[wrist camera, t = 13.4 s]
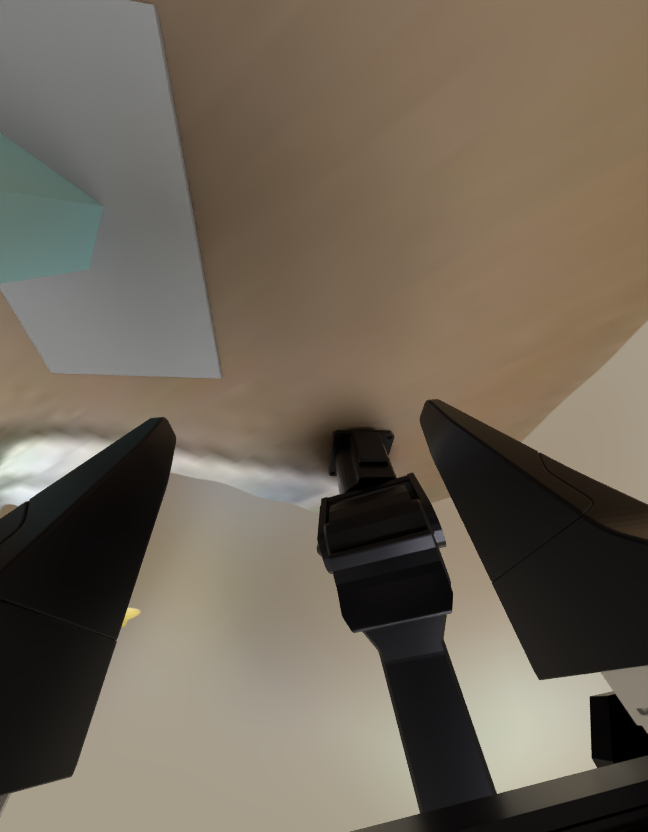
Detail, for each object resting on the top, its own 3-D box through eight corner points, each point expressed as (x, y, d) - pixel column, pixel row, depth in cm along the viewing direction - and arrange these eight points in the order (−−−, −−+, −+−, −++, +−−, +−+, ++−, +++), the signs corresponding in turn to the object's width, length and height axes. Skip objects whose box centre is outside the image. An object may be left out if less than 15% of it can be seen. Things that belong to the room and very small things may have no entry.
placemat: (222, 376, 22) (221, 378, 21) (55, 370, 20) (51, 373, 20) (157, 11, 11) (153, 4, 11) (-198, -52, 10) (-215, -62, 9)
